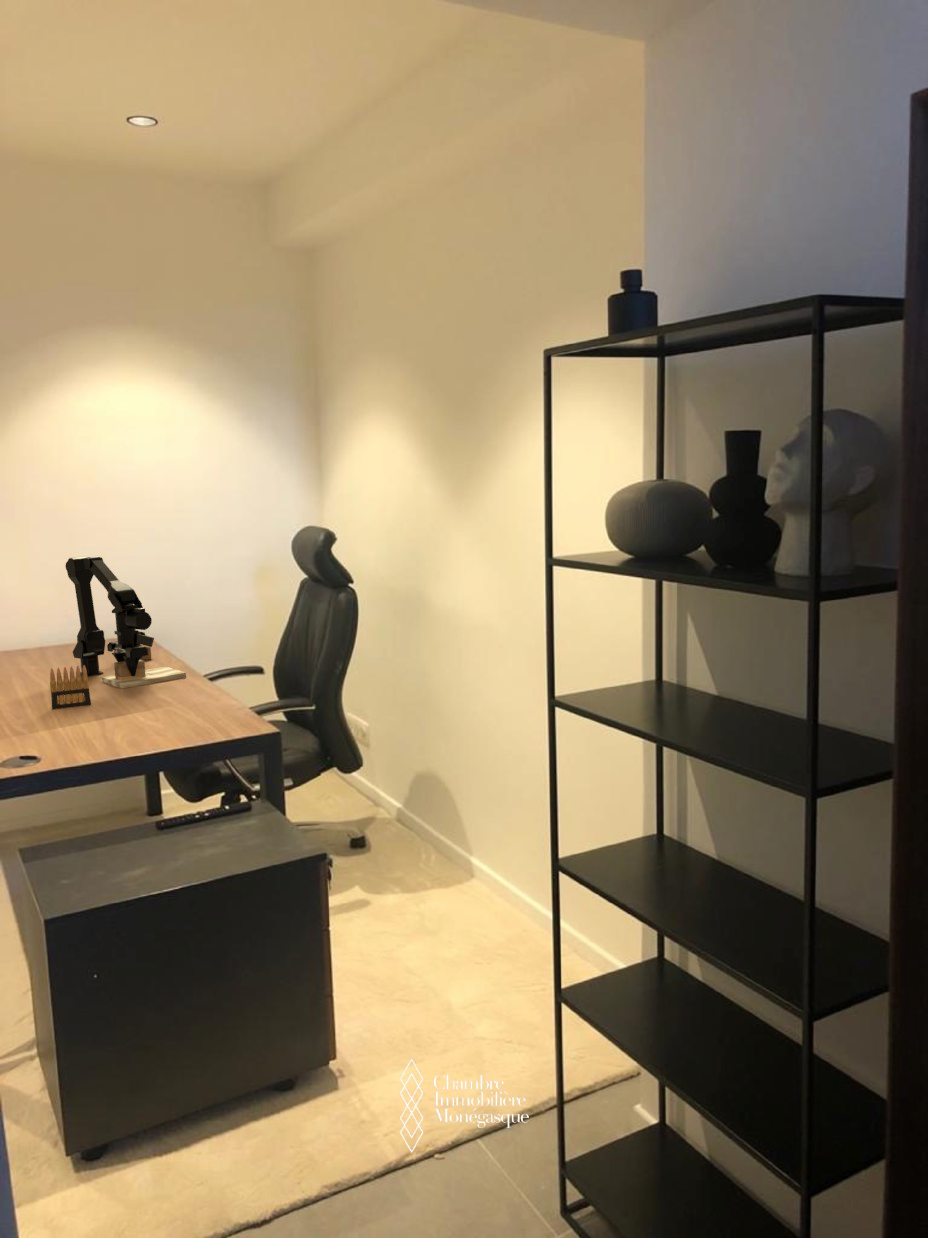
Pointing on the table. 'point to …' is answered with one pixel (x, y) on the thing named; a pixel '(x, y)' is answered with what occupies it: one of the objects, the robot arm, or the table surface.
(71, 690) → the ammunition clip
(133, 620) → the robot arm
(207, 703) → the table surface
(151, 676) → the pine board
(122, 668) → the block
